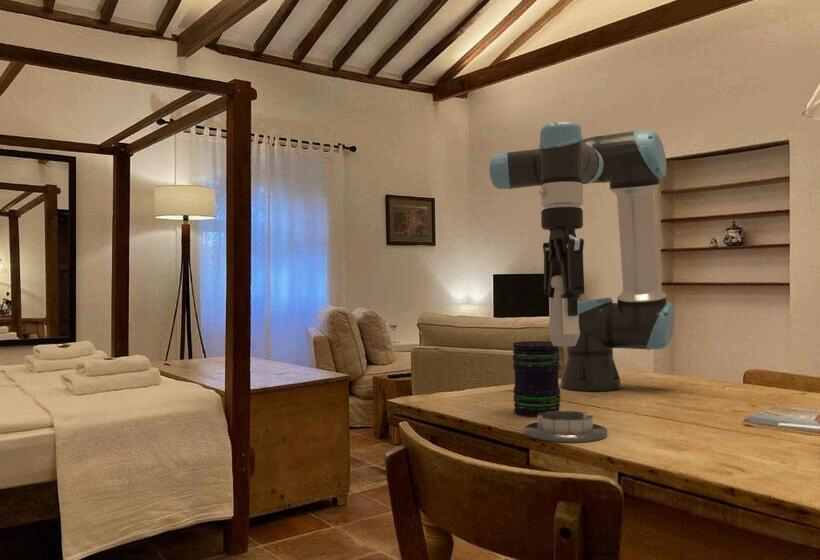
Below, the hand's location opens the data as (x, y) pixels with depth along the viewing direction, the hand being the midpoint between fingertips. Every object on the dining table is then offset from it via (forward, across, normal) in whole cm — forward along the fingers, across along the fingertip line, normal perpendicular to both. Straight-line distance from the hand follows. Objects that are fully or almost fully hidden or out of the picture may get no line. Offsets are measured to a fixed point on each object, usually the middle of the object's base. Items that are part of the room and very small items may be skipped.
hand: (563, 332), depth 128 cm
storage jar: (+19, -20, +2) cm, 28 cm away
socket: (+19, 0, 0) cm, 19 cm away
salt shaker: (+3, 0, 0) cm, 3 cm away
